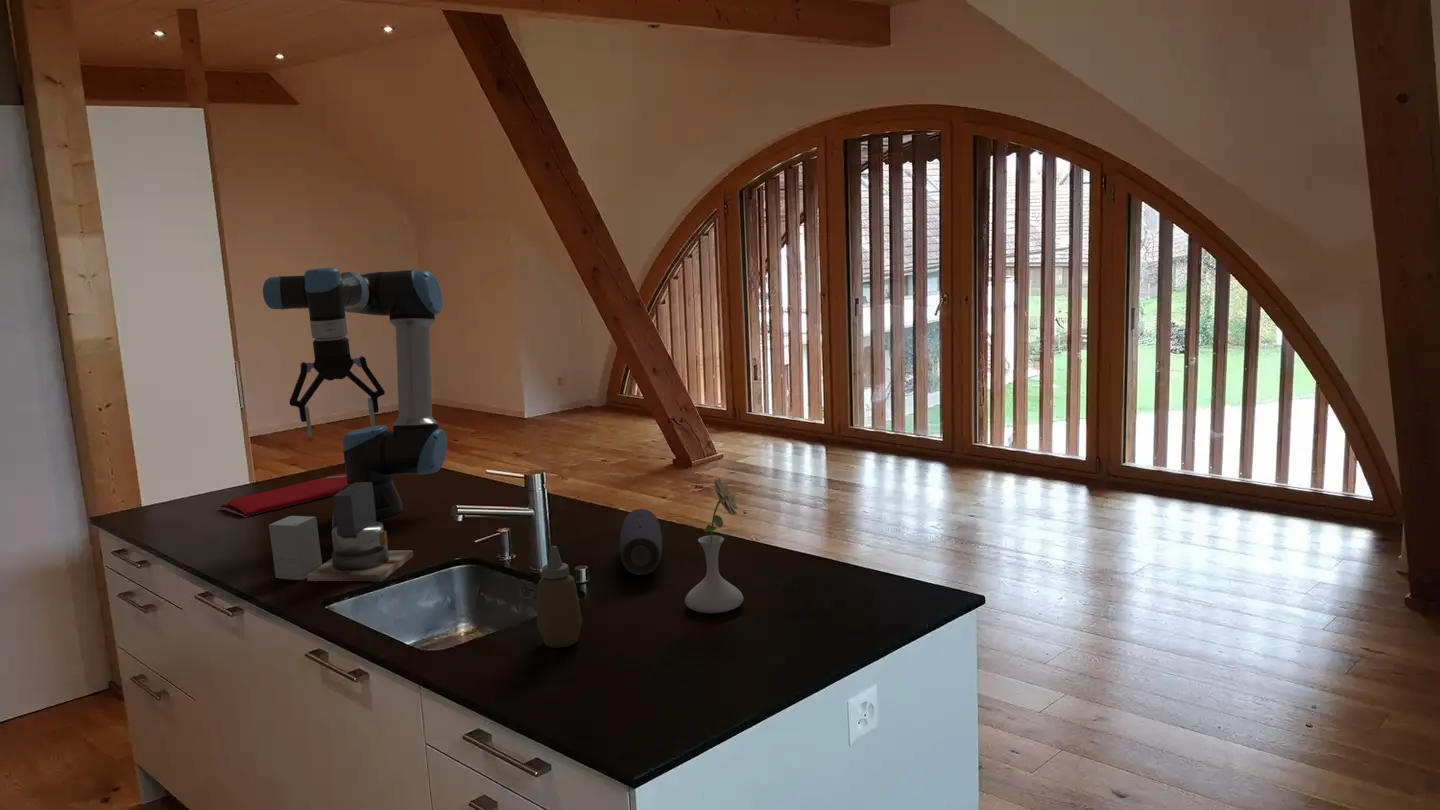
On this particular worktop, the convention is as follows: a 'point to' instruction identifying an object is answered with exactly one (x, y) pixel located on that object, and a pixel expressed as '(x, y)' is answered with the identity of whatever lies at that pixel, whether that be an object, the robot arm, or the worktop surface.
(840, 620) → the worktop surface
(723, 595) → the flower in vase
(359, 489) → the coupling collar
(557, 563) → the squeeze bottle
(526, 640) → the worktop surface
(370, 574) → the post board
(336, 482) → the dish drying mat
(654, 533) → the bluetooth speaker
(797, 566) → the worktop surface
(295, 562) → the supplement box
